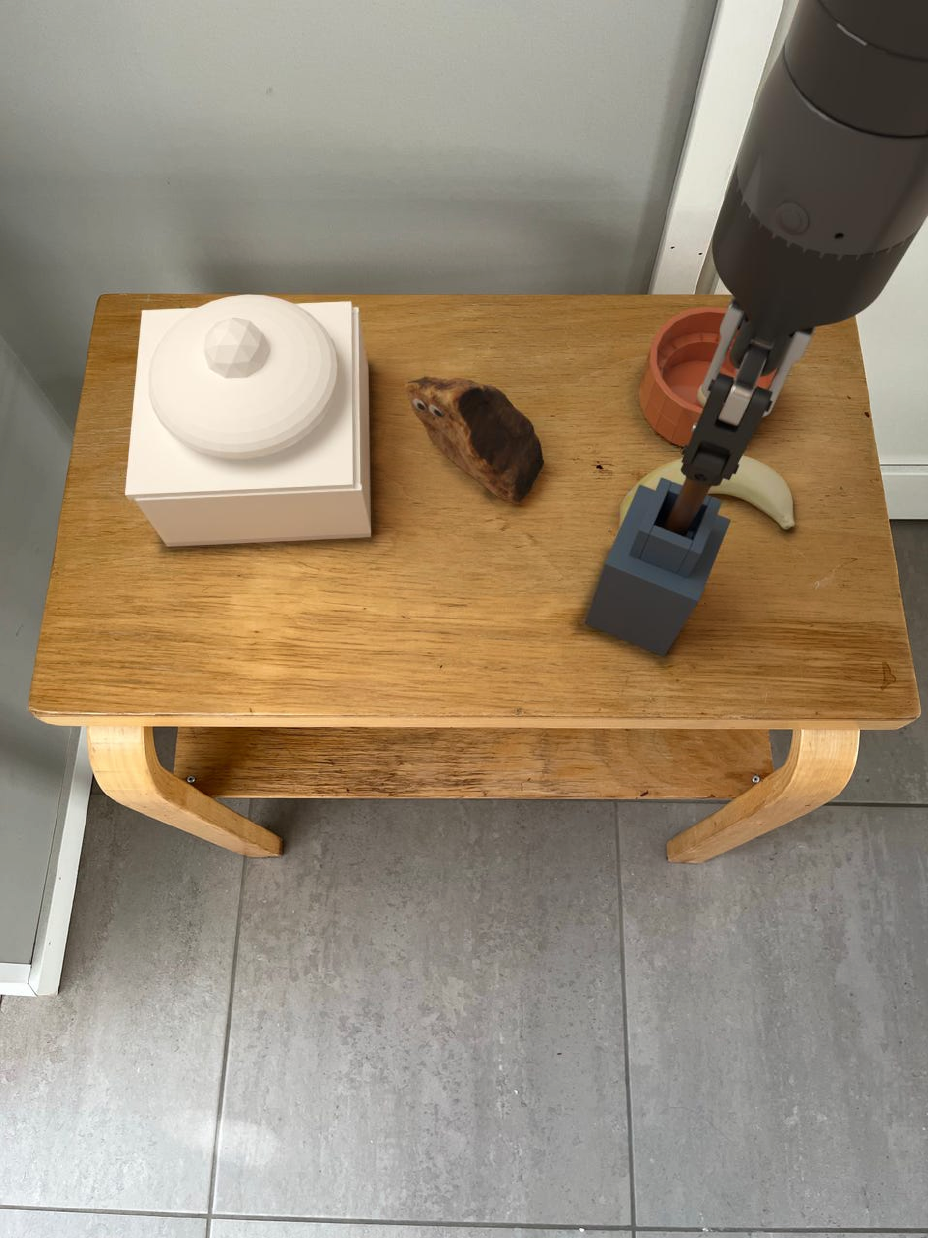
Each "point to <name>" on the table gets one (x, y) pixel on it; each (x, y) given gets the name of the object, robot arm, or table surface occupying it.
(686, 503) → the stick
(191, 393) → the white lidded box
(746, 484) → the fruit
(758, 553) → the table surface
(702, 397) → the ball
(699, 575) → the holder
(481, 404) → the decorative rock
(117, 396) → the table surface
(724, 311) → the bowl
